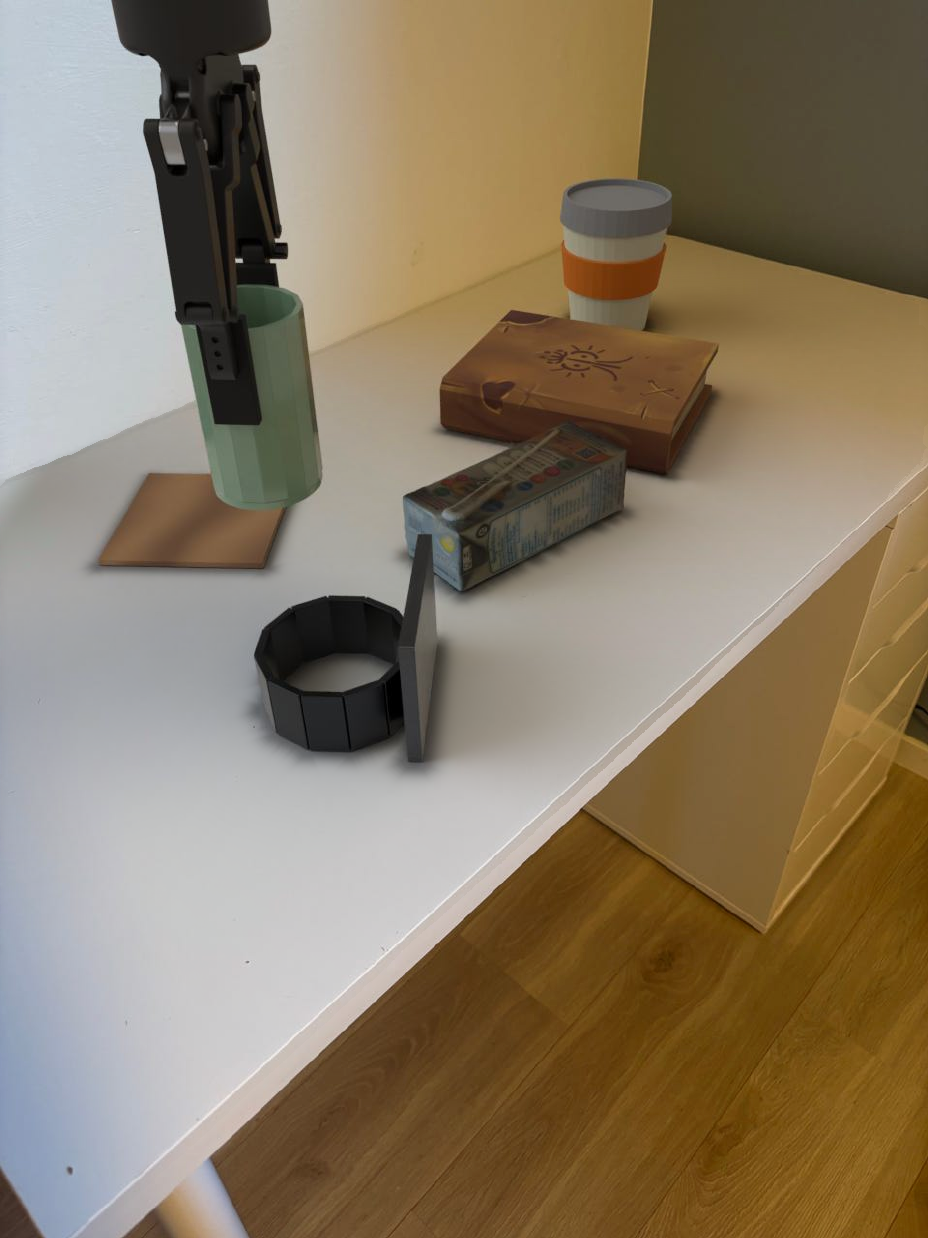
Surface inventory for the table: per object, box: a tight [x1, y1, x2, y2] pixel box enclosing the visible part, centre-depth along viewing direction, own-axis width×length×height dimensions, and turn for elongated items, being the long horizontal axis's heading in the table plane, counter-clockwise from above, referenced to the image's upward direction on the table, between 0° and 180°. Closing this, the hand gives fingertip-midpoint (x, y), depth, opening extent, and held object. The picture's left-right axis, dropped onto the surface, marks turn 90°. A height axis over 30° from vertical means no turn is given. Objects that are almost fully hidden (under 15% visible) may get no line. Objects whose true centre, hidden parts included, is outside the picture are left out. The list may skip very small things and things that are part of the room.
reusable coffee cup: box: [559, 177, 673, 331], centre depth 115 cm, size 13×13×15 cm
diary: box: [439, 309, 720, 475], centre depth 101 cm, size 23×19×6 cm
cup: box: [180, 284, 323, 510], centre depth 63 cm, size 7×7×12 cm
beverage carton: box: [401, 421, 627, 592], centre depth 84 cm, size 8×19×7 cm, turn 129°
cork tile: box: [97, 472, 286, 569], centre depth 88 cm, size 14×14×1 cm
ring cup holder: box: [253, 534, 438, 763], centre depth 67 cm, size 12×12×10 cm
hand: (253, 390), depth 62 cm, fingers closed on cup, 7 cm apart
